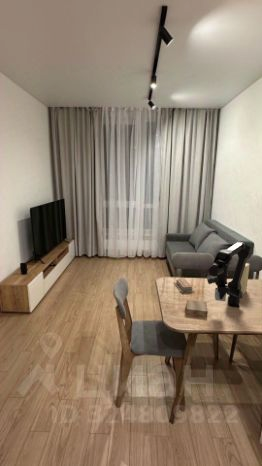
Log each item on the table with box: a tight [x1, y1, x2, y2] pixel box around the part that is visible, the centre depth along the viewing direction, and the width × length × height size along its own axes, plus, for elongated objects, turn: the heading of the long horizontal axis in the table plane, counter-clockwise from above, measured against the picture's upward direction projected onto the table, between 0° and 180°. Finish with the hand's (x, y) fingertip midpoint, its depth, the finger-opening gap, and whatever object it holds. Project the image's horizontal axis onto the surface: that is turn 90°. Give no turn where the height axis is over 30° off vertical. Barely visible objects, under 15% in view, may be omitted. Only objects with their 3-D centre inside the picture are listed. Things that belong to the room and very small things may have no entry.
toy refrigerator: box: [240, 262, 250, 295], centre depth 181 cm, size 8×7×21 cm
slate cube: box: [214, 287, 227, 302], centre depth 149 cm, size 6×6×6 cm
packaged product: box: [173, 277, 195, 294], centre depth 187 cm, size 18×5×10 cm
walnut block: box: [185, 299, 209, 318], centre depth 154 cm, size 12×12×4 cm
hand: (220, 297), depth 150 cm, fingers closed on slate cube, 5 cm apart
